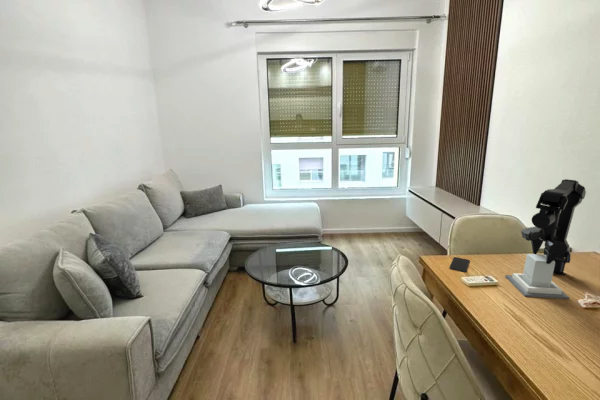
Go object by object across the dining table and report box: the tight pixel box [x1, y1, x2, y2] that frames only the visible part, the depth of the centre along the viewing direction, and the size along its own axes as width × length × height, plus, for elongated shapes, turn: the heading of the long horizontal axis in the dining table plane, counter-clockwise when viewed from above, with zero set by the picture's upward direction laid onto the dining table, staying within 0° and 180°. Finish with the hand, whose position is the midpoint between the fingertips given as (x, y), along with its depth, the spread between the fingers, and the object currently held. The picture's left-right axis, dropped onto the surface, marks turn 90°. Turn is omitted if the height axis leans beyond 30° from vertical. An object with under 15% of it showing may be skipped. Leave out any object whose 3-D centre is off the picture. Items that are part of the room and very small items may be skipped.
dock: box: [504, 272, 570, 300], centre depth 132 cm, size 16×16×3 cm
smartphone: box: [448, 256, 471, 273], centre depth 153 cm, size 7×1×15 cm
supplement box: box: [522, 253, 555, 288], centre depth 130 cm, size 7×7×13 cm
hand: (541, 258), depth 129 cm, fingers open, 9 cm apart
